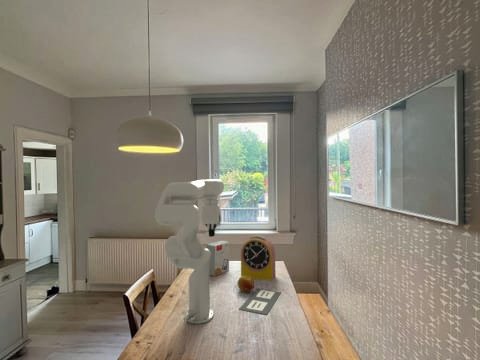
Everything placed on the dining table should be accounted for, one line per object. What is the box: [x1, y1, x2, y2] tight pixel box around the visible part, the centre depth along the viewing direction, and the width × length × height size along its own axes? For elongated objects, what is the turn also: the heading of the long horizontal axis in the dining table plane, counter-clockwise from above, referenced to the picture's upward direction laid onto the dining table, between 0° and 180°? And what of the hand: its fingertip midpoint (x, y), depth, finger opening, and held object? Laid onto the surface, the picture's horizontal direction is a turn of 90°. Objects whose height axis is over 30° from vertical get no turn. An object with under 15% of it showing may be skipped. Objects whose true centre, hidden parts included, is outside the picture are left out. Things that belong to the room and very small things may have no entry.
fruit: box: [237, 275, 255, 293], centre depth 146 cm, size 10×9×8 cm
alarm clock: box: [240, 235, 277, 281], centre depth 168 cm, size 21×9×26 cm, turn 67°
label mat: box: [238, 288, 282, 316], centre depth 134 cm, size 26×14×1 cm, turn 157°
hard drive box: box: [206, 240, 230, 277], centre depth 177 cm, size 16×8×20 cm, turn 143°
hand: (211, 236), depth 141 cm, fingers closed
